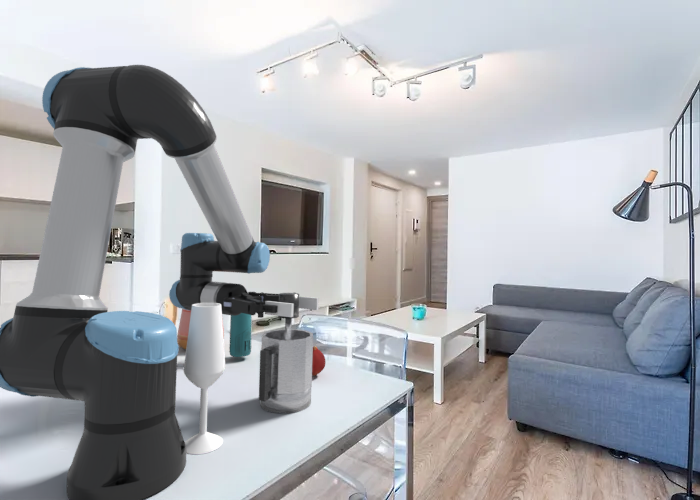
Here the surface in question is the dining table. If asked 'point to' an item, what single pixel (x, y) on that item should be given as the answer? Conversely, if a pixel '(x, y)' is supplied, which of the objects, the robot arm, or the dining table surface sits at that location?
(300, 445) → the dining table surface
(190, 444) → the champagne flute
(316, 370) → the onion
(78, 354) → the robot arm
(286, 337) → the plunger
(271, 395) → the press pot
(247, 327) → the beverage bottle
